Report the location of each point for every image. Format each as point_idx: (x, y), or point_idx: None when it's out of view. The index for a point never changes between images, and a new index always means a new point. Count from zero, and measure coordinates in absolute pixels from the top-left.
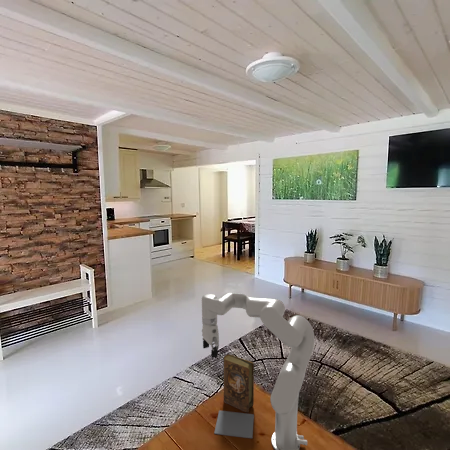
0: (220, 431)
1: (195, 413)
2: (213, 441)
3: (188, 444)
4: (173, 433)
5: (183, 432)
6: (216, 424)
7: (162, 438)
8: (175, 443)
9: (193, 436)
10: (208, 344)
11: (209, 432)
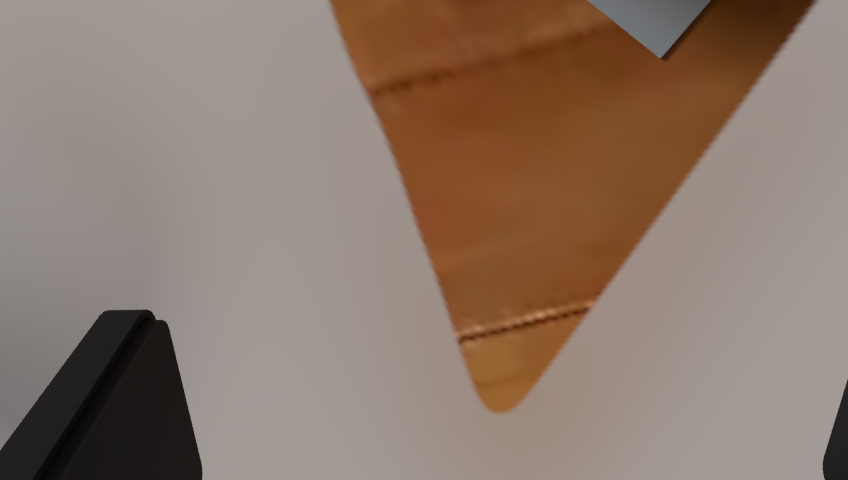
0: (678, 3)
1: (384, 113)
2: (711, 90)
3: (624, 252)
4: (487, 307)
5: (514, 251)
6: (595, 2)
7: (488, 370)
8: (568, 317)
9: (584, 203)
10: (128, 411)
11: (621, 84)
